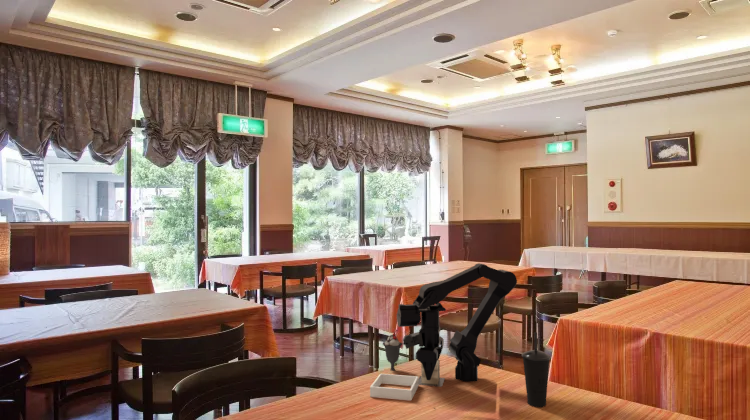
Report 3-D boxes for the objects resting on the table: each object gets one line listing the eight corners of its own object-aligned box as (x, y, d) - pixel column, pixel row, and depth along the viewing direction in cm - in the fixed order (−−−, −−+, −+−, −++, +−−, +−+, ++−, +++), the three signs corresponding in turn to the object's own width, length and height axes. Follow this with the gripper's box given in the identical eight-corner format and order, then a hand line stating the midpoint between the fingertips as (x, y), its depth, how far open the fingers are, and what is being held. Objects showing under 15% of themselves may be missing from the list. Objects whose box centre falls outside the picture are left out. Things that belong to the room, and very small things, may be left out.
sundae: (401, 377, 157) (400, 331, 157) (381, 376, 158) (380, 330, 158) (404, 370, 163) (403, 327, 163) (384, 369, 164) (384, 326, 165)
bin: (418, 389, 145) (418, 376, 145) (411, 404, 134) (411, 390, 134) (380, 386, 148) (380, 373, 148) (370, 400, 137) (370, 386, 137)
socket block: (439, 379, 151) (439, 360, 151) (437, 384, 146) (437, 364, 146) (424, 377, 152) (423, 359, 152) (421, 383, 147) (421, 363, 148)
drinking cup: (516, 401, 135) (515, 330, 136) (537, 397, 138) (536, 328, 139) (535, 411, 128) (534, 336, 129) (557, 406, 131) (556, 334, 132)
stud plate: (445, 381, 152) (444, 367, 152) (441, 390, 144) (441, 375, 144) (420, 379, 154) (420, 365, 154) (415, 388, 146) (415, 373, 146)
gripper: (410, 317, 161) (410, 364, 160) (398, 330, 143) (399, 383, 142) (443, 319, 158) (444, 366, 157) (436, 332, 140) (436, 386, 139)
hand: (430, 375), depth 149 cm, fingers open, 9 cm apart
